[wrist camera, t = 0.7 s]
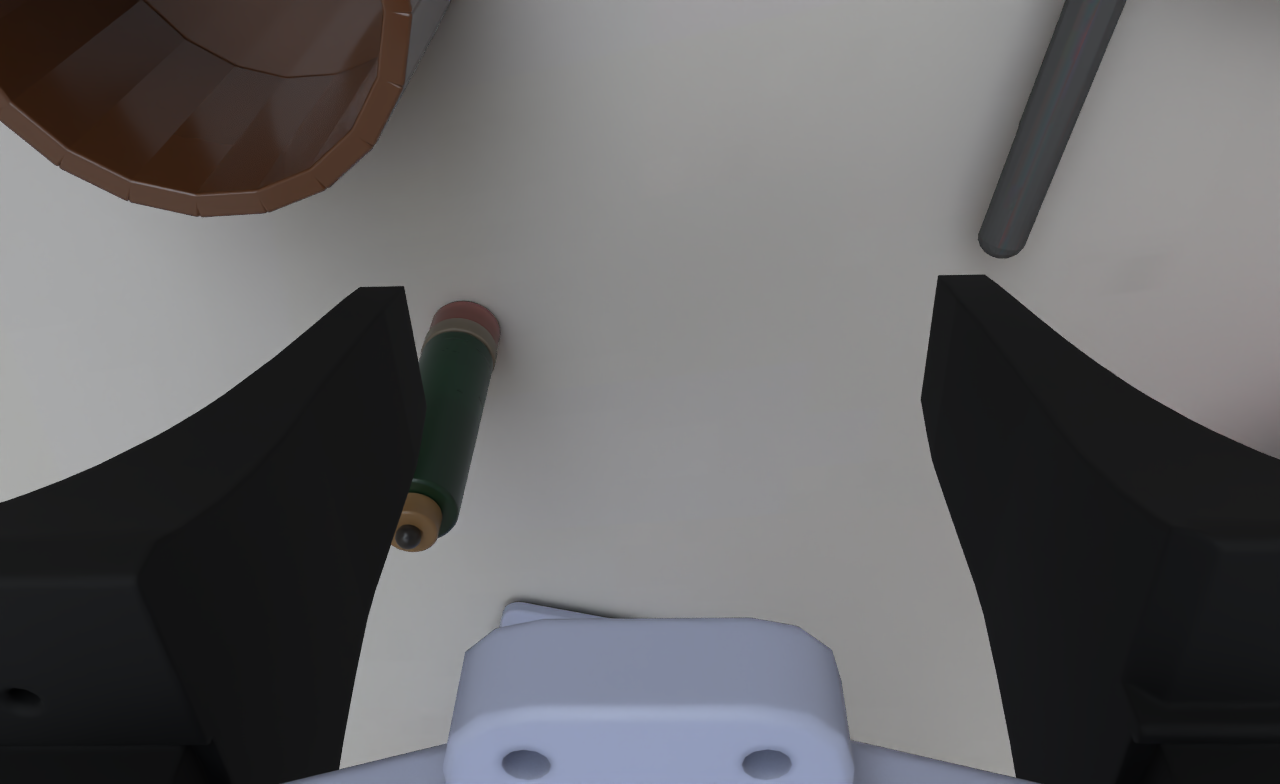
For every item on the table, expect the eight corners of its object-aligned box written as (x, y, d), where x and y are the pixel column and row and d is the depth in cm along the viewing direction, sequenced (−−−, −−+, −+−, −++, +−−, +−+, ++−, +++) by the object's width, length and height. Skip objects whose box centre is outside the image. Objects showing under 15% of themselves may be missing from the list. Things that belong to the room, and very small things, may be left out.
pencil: (495, 365, 28) (445, 585, 22) (426, 350, 28) (355, 568, 22) (507, 307, 27) (457, 521, 21) (435, 292, 27) (363, 503, 20)
